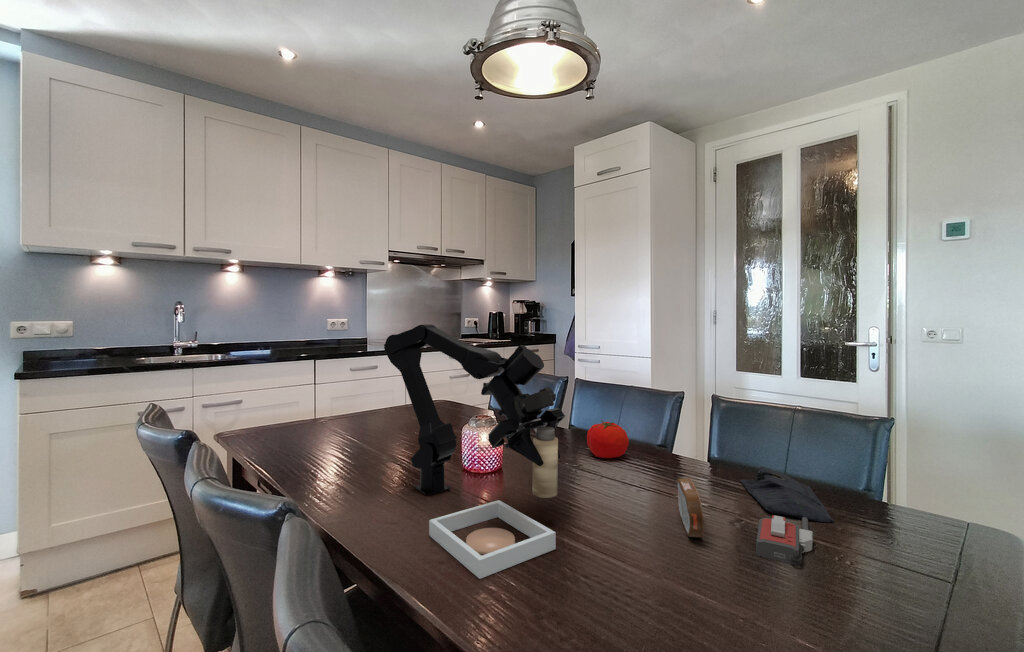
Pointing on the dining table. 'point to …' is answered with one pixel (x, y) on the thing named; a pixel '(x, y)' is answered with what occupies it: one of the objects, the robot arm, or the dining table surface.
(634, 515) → the dining table surface
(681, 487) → the tin
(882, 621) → the dining table surface
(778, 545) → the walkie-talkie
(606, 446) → the tomato
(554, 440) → the pepper mill
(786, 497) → the dark folded cloth
